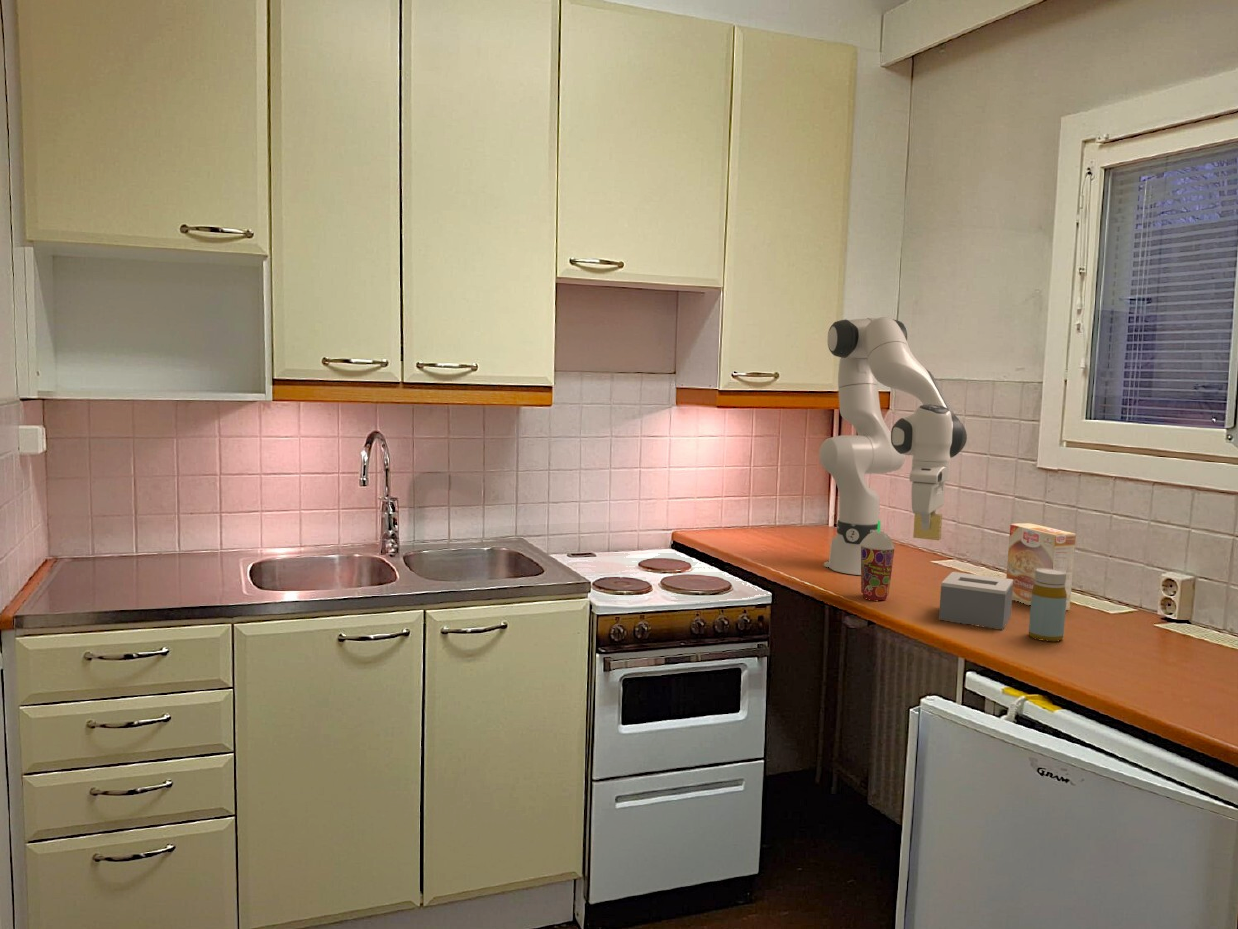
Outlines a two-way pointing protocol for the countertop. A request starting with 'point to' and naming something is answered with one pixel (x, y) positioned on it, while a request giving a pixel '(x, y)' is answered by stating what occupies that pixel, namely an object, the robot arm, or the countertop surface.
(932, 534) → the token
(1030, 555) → the coffeecake box
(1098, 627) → the countertop surface
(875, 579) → the smoothie
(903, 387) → the robot arm
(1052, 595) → the bottle
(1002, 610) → the coin box
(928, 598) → the countertop surface
